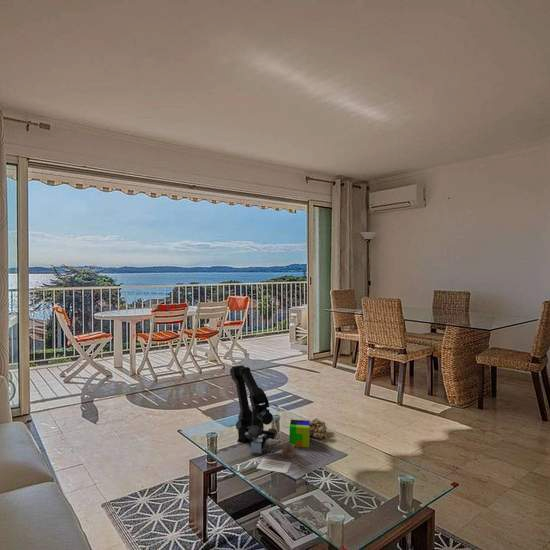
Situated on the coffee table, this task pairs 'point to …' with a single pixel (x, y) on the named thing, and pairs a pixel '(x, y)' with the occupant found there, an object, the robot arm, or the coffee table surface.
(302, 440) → the puzzle toy
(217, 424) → the coffee table surface
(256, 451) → the blue cube
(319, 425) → the mineral formation
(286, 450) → the walnut block
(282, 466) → the letter
